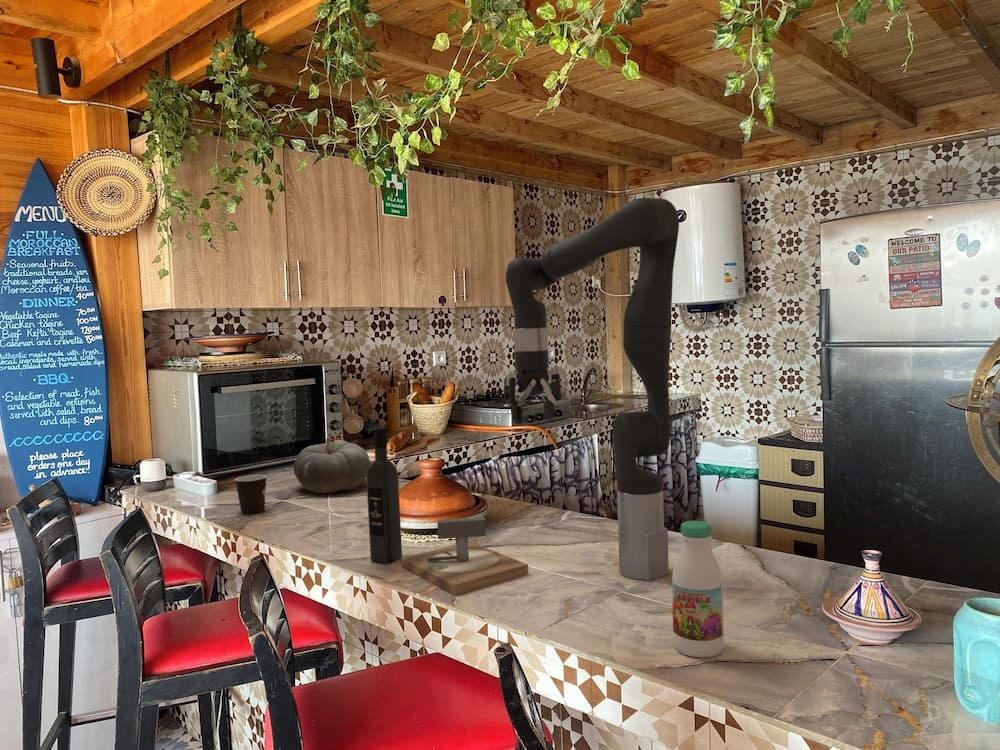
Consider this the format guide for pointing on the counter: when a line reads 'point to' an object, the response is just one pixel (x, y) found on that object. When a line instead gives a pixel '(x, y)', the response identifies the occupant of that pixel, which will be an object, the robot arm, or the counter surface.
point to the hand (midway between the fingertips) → (533, 421)
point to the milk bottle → (697, 594)
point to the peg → (459, 535)
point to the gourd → (331, 467)
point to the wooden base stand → (464, 568)
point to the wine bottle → (383, 504)
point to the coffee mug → (251, 493)
